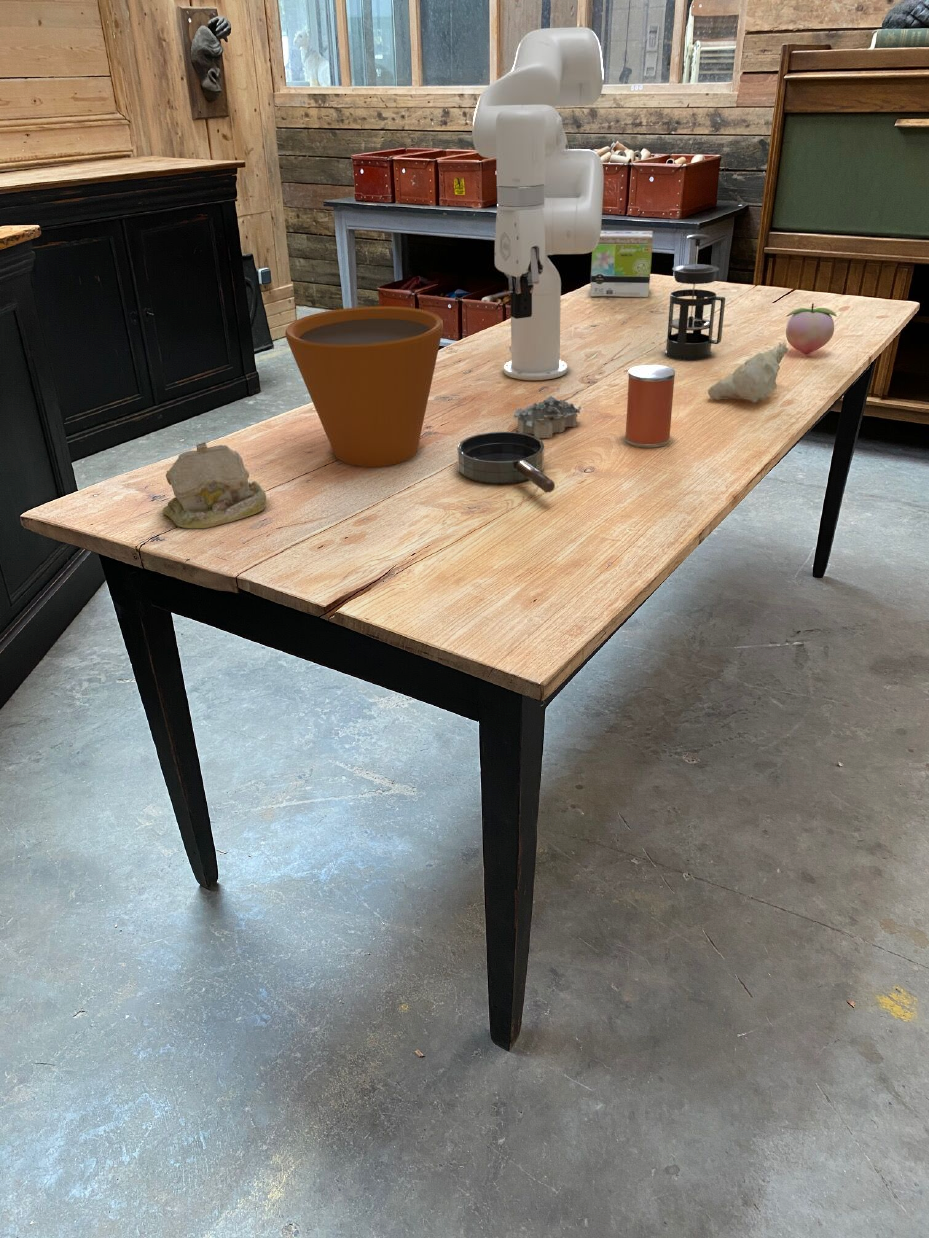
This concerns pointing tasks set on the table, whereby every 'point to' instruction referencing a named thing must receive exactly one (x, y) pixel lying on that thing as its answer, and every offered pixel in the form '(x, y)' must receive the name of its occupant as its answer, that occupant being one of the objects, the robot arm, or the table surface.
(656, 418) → the tin can
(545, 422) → the egg carton
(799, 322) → the decorative fruit
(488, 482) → the black pan
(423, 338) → the flower pot
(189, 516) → the ceramic model
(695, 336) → the french press
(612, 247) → the tea box
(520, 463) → the pan handle
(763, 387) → the holed limestone rock
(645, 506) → the table surface
